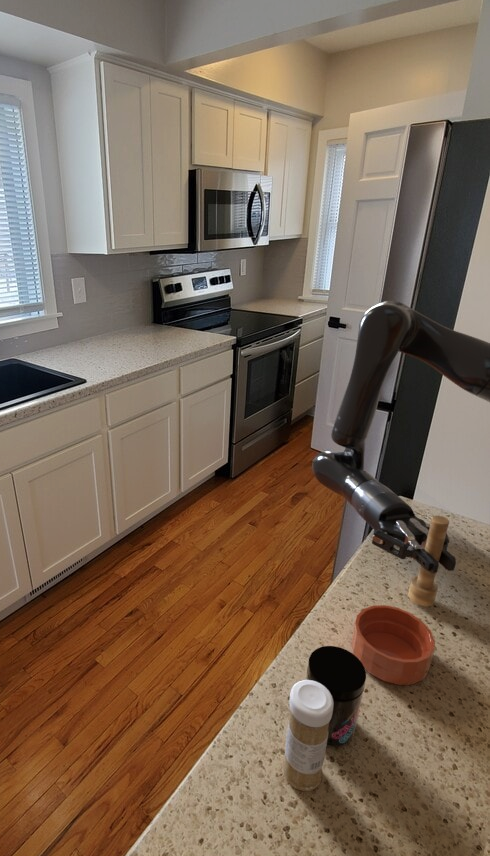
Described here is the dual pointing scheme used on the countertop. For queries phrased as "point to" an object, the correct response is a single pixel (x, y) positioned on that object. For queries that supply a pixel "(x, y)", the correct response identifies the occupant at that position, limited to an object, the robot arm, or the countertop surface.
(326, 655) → the supplement container
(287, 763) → the sprinkles bottle
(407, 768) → the countertop surface
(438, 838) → the countertop surface
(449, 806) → the countertop surface
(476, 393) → the robot arm
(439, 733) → the countertop surface
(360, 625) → the bowl
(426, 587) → the muddler
